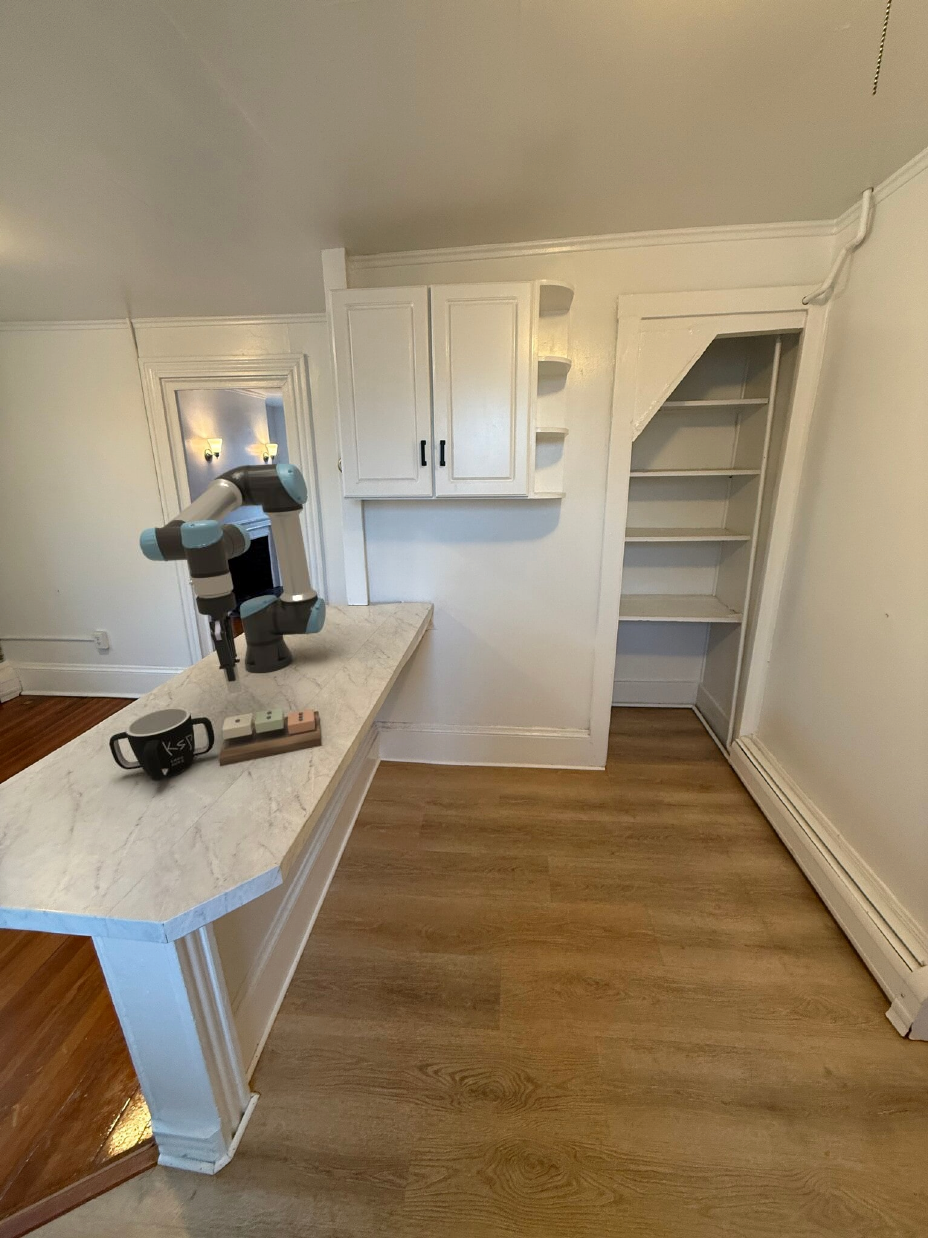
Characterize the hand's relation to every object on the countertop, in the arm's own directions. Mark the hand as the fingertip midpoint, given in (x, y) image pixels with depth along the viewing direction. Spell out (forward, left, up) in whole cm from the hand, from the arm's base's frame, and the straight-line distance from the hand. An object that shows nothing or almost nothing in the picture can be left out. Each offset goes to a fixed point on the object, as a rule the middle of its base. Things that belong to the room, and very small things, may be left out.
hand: (235, 691), depth 110 cm
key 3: (0, +13, -12) cm, 18 cm away
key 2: (0, +6, -10) cm, 12 cm away
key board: (0, +6, -14) cm, 16 cm away
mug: (+3, -16, -15) cm, 22 cm away
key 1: (0, -1, -10) cm, 10 cm away
